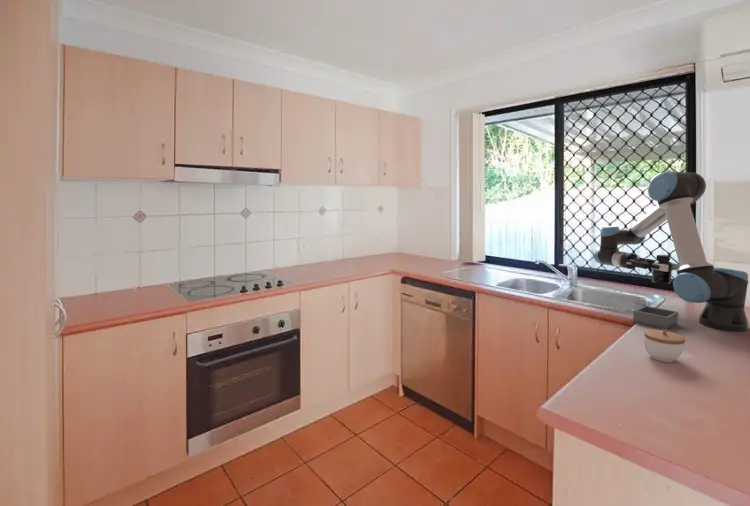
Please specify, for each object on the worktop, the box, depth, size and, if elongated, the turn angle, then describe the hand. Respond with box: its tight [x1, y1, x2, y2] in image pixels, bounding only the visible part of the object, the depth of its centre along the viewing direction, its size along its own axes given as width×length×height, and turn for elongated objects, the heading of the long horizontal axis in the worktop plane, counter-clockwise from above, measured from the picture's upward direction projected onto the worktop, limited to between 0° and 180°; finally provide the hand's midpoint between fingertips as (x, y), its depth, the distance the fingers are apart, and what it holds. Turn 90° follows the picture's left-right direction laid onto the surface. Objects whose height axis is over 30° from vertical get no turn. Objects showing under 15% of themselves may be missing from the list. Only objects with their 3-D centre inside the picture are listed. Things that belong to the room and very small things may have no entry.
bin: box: [632, 305, 679, 331], centre depth 166 cm, size 12×12×5 cm
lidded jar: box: [643, 329, 686, 363], centre depth 130 cm, size 11×11×9 cm
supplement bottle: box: [651, 254, 673, 285], centre depth 177 cm, size 7×7×12 cm
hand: (674, 268), depth 172 cm, fingers closed on supplement bottle, 7 cm apart
